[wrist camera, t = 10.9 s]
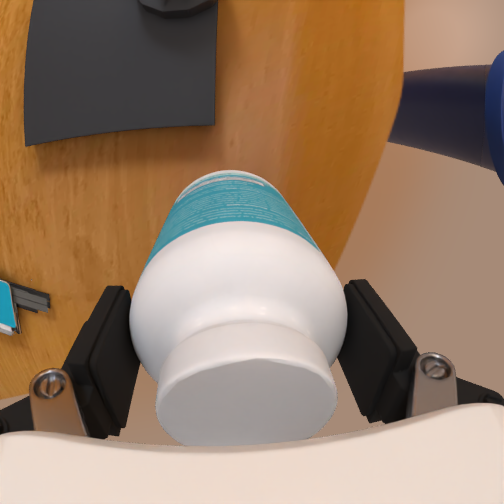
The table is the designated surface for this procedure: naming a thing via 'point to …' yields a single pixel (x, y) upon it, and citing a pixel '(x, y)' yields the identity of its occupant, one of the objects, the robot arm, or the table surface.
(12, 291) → the blue paper trimmer
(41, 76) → the scale
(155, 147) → the table surface
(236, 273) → the pill bottle
